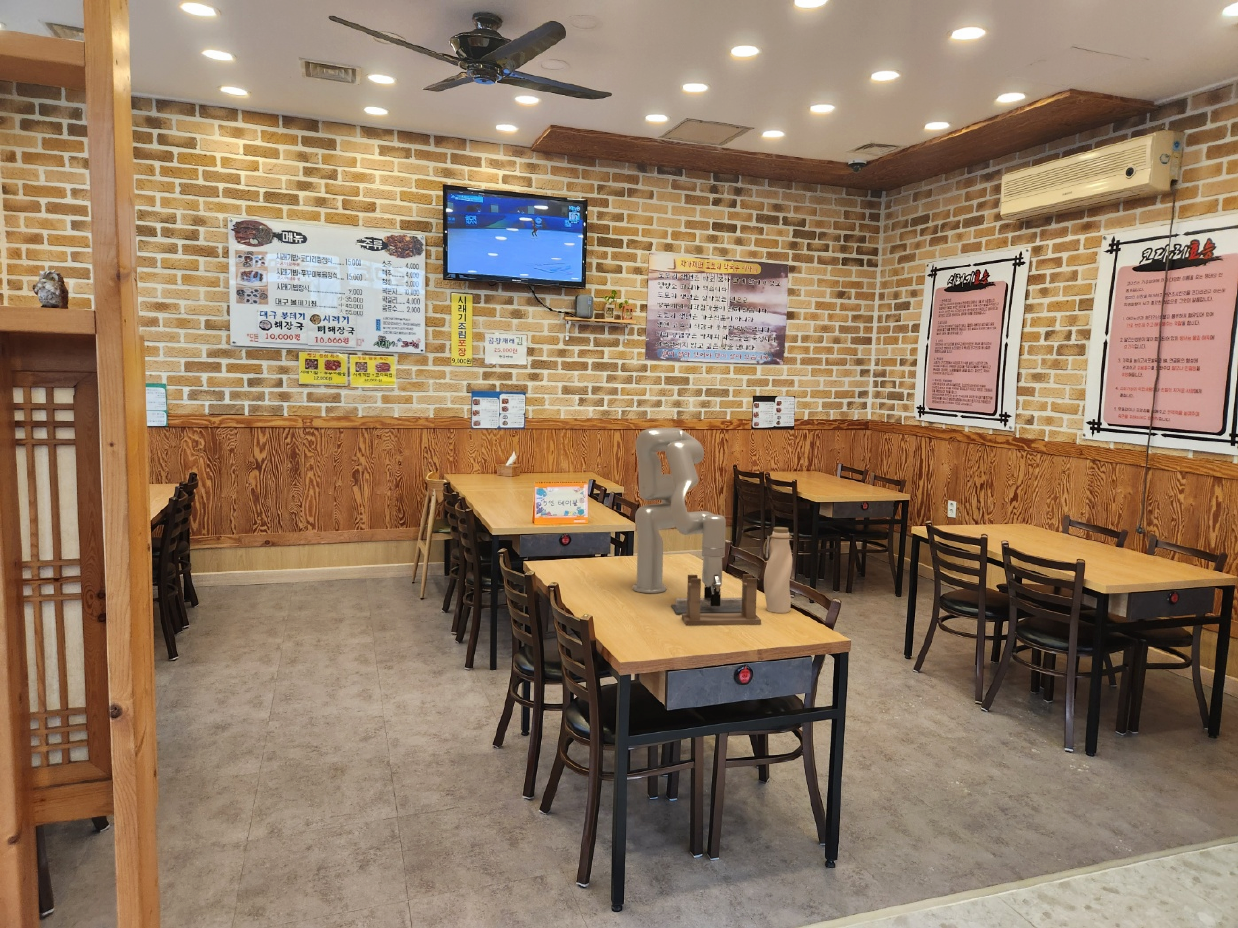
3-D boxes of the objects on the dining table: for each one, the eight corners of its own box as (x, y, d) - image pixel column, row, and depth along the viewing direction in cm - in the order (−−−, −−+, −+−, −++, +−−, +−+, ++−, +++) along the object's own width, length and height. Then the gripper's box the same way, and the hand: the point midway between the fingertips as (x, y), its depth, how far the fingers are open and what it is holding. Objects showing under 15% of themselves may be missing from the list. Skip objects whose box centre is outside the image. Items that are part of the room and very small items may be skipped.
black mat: (671, 606, 270) (671, 604, 269) (745, 605, 272) (745, 603, 272) (676, 614, 260) (676, 612, 260) (753, 613, 262) (753, 611, 262)
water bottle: (768, 614, 262) (771, 531, 259) (756, 607, 270) (759, 526, 268) (796, 612, 264) (799, 530, 262) (784, 605, 273) (786, 525, 270)
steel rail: (675, 606, 266) (675, 598, 266) (745, 606, 269) (745, 597, 269) (677, 609, 263) (677, 600, 263) (747, 608, 266) (748, 599, 266)
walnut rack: (681, 618, 256) (682, 574, 254) (754, 617, 258) (755, 573, 257) (686, 625, 248) (687, 579, 247) (760, 624, 250) (762, 579, 249)
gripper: (697, 546, 272) (695, 595, 274) (708, 557, 255) (706, 609, 257) (718, 546, 273) (717, 595, 275) (730, 557, 256) (729, 608, 258)
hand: (712, 602), depth 266 cm, fingers open, 9 cm apart
